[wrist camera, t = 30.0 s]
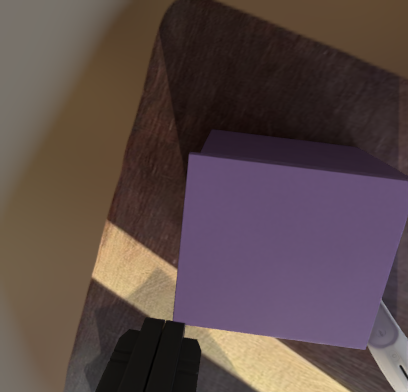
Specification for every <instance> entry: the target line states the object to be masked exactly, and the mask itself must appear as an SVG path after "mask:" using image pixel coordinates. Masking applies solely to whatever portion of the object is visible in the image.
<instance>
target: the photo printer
mask: <svg viewBox="0 0 408 392" xmlns="http://www.w3.org/2000/svg"><path fill="white" fill-rule="evenodd" d="M367 345H368V347H369V349H370V351H371V353H372V355H373V357H374V359H375V361H376V362H377V364H378V366H379V367H380V369H381V371H382V372H383V374H384V375H385V377H386V379H387V380H388V382H389V383H390V384H391V386H392V387H393V389H394V390H395V392H408V339H407V337H406V336H405V335H404V333H403V332H402V330H401V329H400V327H399V326H398V324H397V323H396V321H395V320H394V318H393V317H392V315H391V314H390V312H389V311H388V309H387V307H386V306H385V304H384V303H383V301H382V299H381V302H380V305H379V308H378V311H377V314H376V318H375V321H374V324H373V327H372V330H371V333H370V336H369V340H368V343H367Z"/></svg>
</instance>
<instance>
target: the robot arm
mask: <svg viewBox="0 0 408 392" xmlns="http://www.w3.org/2000/svg"><path fill="white" fill-rule="evenodd" d="M184 334H185V323H183V322H176V321H170V320H166V323H165V320H162V319H156V318H149V317H146V318H145V320H144V323H143V325H142V328H141V331H138V330H131V329H129V330H128V331H127V332H126V333H125V334H123V335H122V336H121V337H120V338H119V340H118V342H117V345H116V347H115V349H114V352H113V353H112V356H111V358H110V361H109V362H108V364H107V367H106V369H105V371H104V373H103V375H102V378H101V380H100V382H99V384H98V386H97V389H96V391H95V392H196V387H197V380H198V372H199V365H200V357H201V348H200V346H199V343H198V341H197V339H191V338H184Z"/></svg>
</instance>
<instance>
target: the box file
mask: <svg viewBox="0 0 408 392" xmlns="http://www.w3.org/2000/svg"><path fill="white" fill-rule="evenodd" d="M200 153H203V154H211V155H219V156H228V157H236V158H244V159H252V160H260V161H268V162H276V163H284V164H293V165H301V166H309V167H317V168H325V169H333V170H341V171H349V172H358V173H366V174H374V175H382V176H390V177H398V178H406V179H408V176H407V175H405V174H403V173H402V172H400V171H398V170H396V169H395V168H393V167H391V166H389V165H388V164H386V163H384V162H382V161H381V160H379V159H377V158H375V157H374V156H372V155H370V154H368V153H367V152H365V151H363V150H361V149H360V148H358V147H352V146H344V145H336V144H328V143H320V142H312V141H304V140H295V139H287V138H279V137H271V136H263V135H255V134H247V133H239V132H231V131H223V130H215V129H212V130H211V132H210V134H209V136H208V138H207V140H206V142H205V144H204V146H203V148H202V150H201V152H200Z"/></svg>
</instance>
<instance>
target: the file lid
mask: <svg viewBox="0 0 408 392" xmlns="http://www.w3.org/2000/svg"><path fill="white" fill-rule="evenodd" d="M407 217H408V179H406V178H398V177H390V176H382V175H374V174H366V173H358V172H349V171H341V170H333V169H325V168H317V167H309V166H301V165H293V164H284V163H276V162H268V161H260V160H252V159H244V158H236V157H228V156H219V155H211V154H203V153H195V152H190V153H189V158H188V169H187V179H186V189H185V199H184V210H183V220H182V230H181V240H180V250H179V261H178V271H177V281H176V291H175V302H174V312H173V321H176V322H183V323H185V325H190V326H198V327H205V328H212V329H219V330H226V331H234V332H241V333H248V334H255V335H263V336H270V337H277V338H284V339H291V340H299V341H306V342H313V343H320V344H328V345H335V346H342V347H349V348H356V349H364V350H365V349H366V346H367V343H368V340H369V336H370V333H371V330H372V327H373V324H374V321H375V318H376V314H377V311H378V308H379V305H380V302H381V299H382V296H383V292H384V289H385V286H386V283H387V280H388V277H389V273H390V270H391V267H392V264H393V261H394V258H395V255H396V251H397V248H398V245H399V242H400V239H401V236H402V233H403V229H404V226H405V223H406V220H407Z"/></svg>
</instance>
